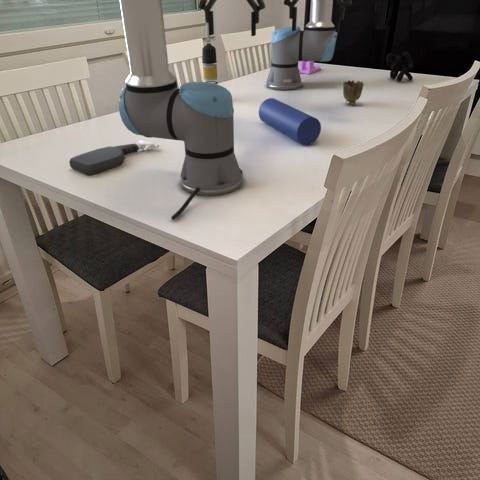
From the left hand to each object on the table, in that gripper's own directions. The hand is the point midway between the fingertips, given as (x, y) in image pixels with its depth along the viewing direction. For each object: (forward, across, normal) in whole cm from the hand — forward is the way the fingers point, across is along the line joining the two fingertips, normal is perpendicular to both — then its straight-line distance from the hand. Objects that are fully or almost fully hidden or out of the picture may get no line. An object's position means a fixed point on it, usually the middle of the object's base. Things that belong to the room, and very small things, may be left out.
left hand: (232, 35), depth 138 cm
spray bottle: (+27, +22, +40) cm, 54 cm away
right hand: (0, -24, -9) cm, 26 cm away
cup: (+27, -37, -30) cm, 55 cm away
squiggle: (+27, -56, -75) cm, 98 cm away
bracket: (+27, -14, -87) cm, 92 cm away
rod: (+27, -20, +7) cm, 35 cm away
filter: (+27, +18, -27) cm, 42 cm away
